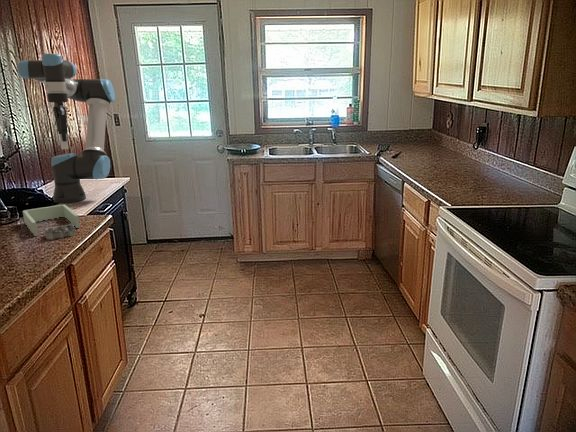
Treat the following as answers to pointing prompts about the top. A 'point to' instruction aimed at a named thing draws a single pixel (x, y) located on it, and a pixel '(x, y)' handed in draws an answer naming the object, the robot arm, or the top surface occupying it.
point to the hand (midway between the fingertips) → (65, 148)
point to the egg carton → (59, 231)
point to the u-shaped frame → (48, 216)
